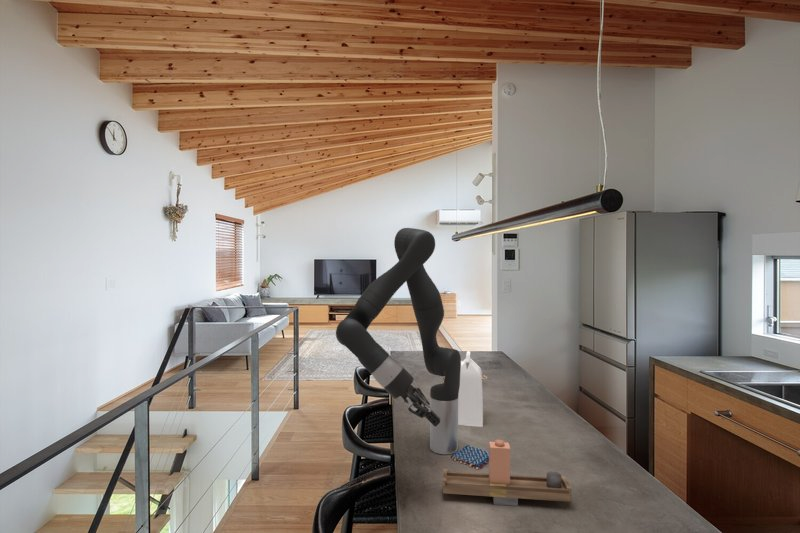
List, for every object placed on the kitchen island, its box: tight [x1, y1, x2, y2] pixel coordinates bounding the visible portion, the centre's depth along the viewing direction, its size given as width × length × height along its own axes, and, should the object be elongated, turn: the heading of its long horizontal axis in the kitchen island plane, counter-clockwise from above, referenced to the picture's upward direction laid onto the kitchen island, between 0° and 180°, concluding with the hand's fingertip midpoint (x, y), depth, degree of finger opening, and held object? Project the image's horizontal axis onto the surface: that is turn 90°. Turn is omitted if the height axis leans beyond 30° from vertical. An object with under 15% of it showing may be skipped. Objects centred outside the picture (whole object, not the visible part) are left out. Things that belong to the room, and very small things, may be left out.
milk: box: [458, 350, 484, 428], centre depth 164 cm, size 12×12×26 cm
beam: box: [442, 468, 572, 507], centre depth 111 cm, size 6×32×7 cm, turn 84°
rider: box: [488, 438, 511, 485], centre depth 111 cm, size 4×5×11 cm
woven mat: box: [450, 445, 489, 470], centre depth 133 cm, size 10×11×2 cm
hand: (438, 423), depth 113 cm, fingers closed
